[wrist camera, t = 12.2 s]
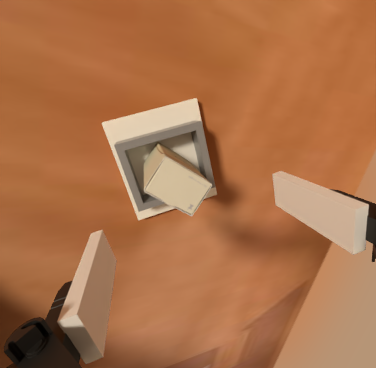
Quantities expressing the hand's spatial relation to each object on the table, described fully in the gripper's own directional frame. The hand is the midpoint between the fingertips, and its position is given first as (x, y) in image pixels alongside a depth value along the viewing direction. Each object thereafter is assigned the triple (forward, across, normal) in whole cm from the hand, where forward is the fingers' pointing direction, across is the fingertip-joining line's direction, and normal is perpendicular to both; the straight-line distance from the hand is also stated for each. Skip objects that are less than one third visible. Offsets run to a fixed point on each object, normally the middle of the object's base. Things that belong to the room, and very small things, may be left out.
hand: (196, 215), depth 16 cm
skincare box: (+19, 0, 0) cm, 19 cm away
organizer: (+20, 0, 0) cm, 20 cm away
